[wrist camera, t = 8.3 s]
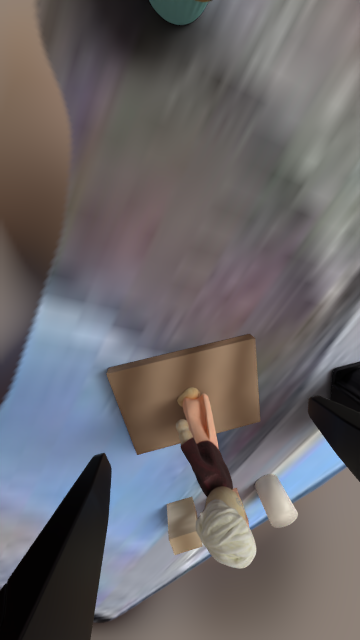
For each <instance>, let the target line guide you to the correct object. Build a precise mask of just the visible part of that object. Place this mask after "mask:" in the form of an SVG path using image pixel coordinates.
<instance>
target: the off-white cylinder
mask: <svg viewBox="0 0 360 640" xmlns="http://www.w3.org/2000/svg"><path fill="white" fill-rule="evenodd" d="M255 489H256V491H257V493H258V496H259V498H260V500H261V502H262V505H263V507H264V509H265V511H266V514H267V516H268V518H269V520H270V523H271V525H272V526H273V527H276V528H281V527H285V526H288V525H290V524H291V523H293V522H294V521H295V520H296V518H297V516H298V513H297V511H296V509H295V508H294V506H293V504H292V502H291V500H290V499H289V497H288V495H287V493H286V491H285V490H284V488H283V486H282V484H281V483H280V481H279V479H278V477H277V476H276V475H273V474H268V475H264V476H262V477H261V478H259V479H258V480H257V481H256V483H255Z"/></svg>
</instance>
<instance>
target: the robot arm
mask: <svg viewBox="0 0 360 640" xmlns="http://www.w3.org/2000/svg"><path fill="white" fill-rule="evenodd" d="M308 413H309V416H310V418H311V419H312V421H313V422H314V423H315V425H316V426H317V428H318V429H319V430H320V432H321V433H322V435H323V436H324V437H325V439H326V440H327V442H328V443H329V444H330V446H331V447H332V449H333V450H334V451H335V453H336V454H337V455H338V456H339V458H340V459H341V460H342V461H343V462H344V464H345V465H346V466H347V467H348V468H349V470H350V471H351V472H352V473H353V474H354V476H355V477H356V478H357V479H358V480H359V482H360V363H356V364H352V365H348V366H344V367H340V368H337V369H335V370H334V371H333V376H332V386H331V397H330V400H329V399H326V398H324V397H322V396H314V397H310V398H309V402H308ZM111 472H112V471H111V465H110V463H109V461H108V459H107V456H106V455H105V453H101V454H97V455H95V456H93V457H92V459H91V460H90V462H89V463H88V465H87V466H86V468H85V469H84V470H83V472H82V473H81V475H80V476H79V478H78V479H77V481H76V482H75V483H74V485H73V486H72V488H71V489H70V491H69V492H68V494H67V495H66V496H65V498H64V499H63V501H62V502H61V504H60V505H59V507H58V508H57V509H56V511H55V512H54V514H53V515H52V517H51V518H50V520H49V521H48V523H47V524H46V525H45V527H44V528H43V530H42V531H41V533H40V534H39V536H38V537H37V538H36V540H35V541H34V543H33V544H32V546H31V547H30V549H29V550H28V551H27V553H26V554H25V556H24V557H23V559H22V560H21V562H20V563H19V564H18V566H17V567H16V569H15V570H14V572H13V573H12V575H11V576H10V577H9V579H8V581H7V583H6V584H5V585H4V586H3V587H2V589H1V590H0V640H90V638H91V631H92V625H93V619H94V612H95V605H96V599H97V592H98V586H99V579H100V572H101V566H102V559H103V553H104V546H105V539H106V533H107V526H108V517H109V504H110V488H111Z"/></svg>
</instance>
